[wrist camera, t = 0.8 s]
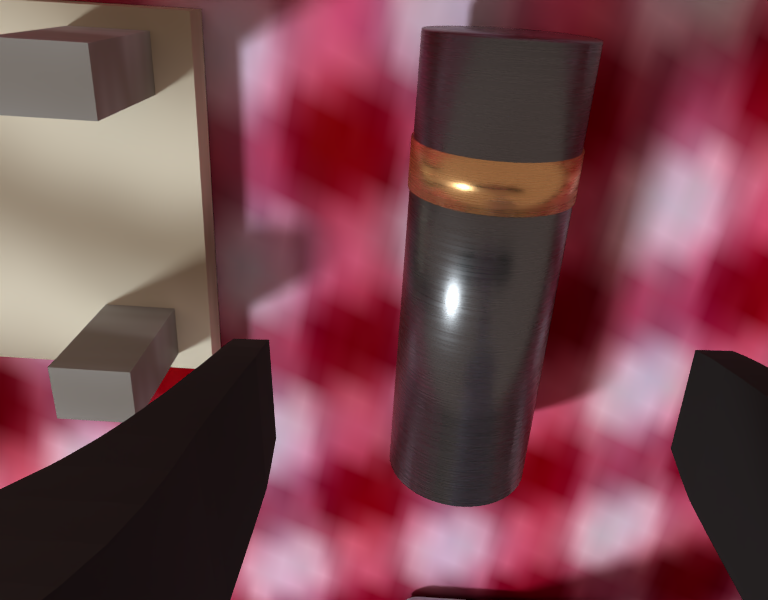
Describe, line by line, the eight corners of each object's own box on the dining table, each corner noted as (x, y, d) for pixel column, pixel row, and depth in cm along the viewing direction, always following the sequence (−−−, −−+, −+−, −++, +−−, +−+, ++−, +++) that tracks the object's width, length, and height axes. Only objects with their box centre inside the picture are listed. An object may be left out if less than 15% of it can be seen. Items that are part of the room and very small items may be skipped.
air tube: (513, 422, 22) (535, 512, 18) (389, 415, 22) (386, 503, 18) (579, 32, 17) (630, 48, 13) (417, 22, 17) (422, 35, 13)
